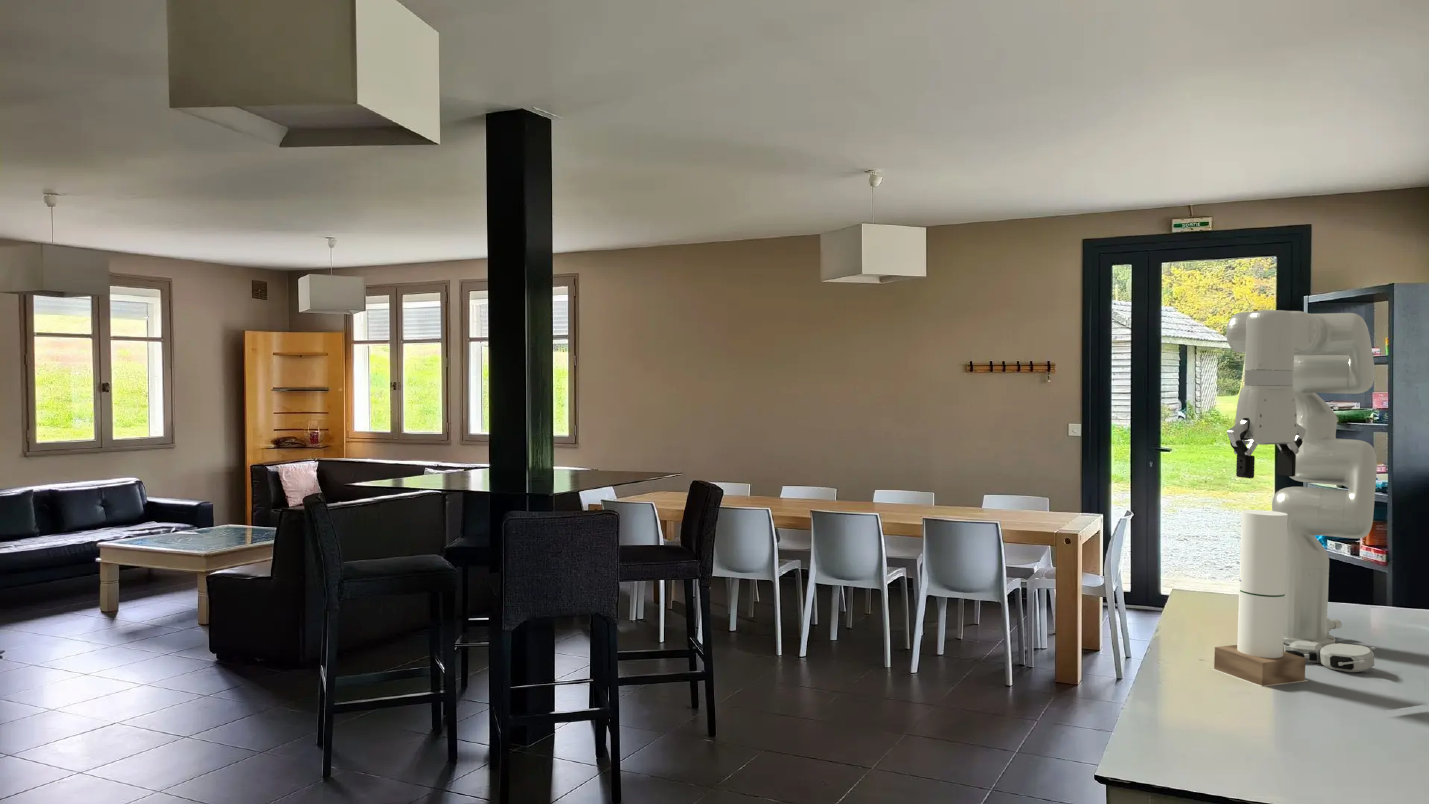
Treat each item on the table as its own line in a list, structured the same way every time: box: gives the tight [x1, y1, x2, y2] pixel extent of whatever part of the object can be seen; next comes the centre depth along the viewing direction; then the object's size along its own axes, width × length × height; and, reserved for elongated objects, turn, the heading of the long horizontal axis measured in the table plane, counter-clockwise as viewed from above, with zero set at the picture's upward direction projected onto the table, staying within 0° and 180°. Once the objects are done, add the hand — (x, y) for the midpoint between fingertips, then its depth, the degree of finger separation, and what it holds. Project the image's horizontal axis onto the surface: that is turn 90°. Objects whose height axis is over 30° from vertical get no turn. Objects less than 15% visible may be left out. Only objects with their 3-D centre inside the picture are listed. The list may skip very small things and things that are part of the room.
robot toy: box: [1283, 641, 1377, 673], centre depth 181 cm, size 12×4×15 cm
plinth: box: [1213, 644, 1306, 687], centre depth 173 cm, size 10×10×4 cm
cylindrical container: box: [1236, 509, 1288, 658], centre depth 173 cm, size 7×7×25 cm
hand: (1265, 476), depth 172 cm, fingers open, 9 cm apart
